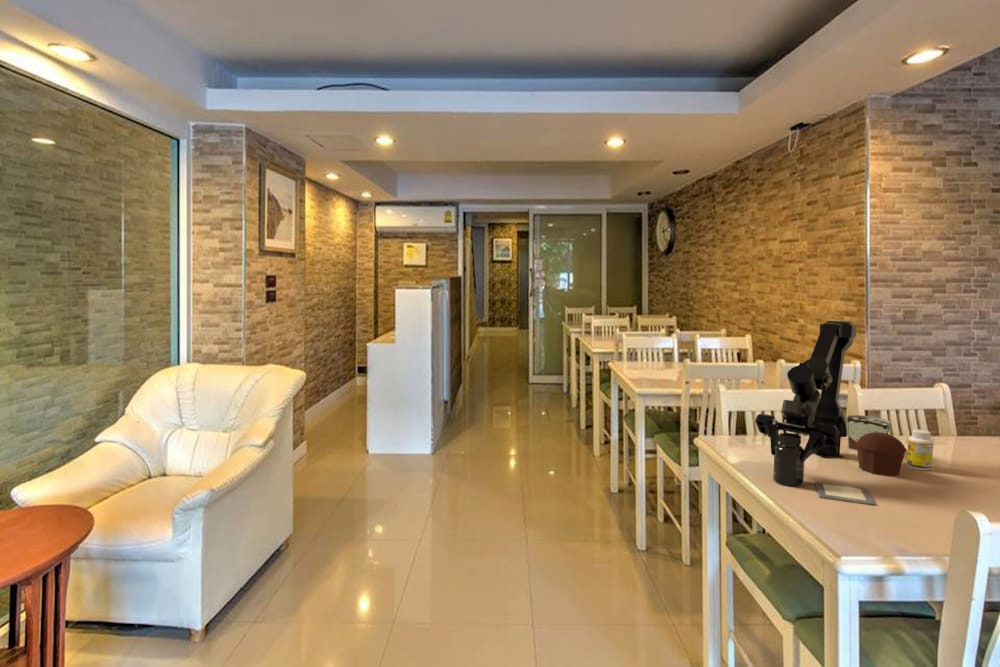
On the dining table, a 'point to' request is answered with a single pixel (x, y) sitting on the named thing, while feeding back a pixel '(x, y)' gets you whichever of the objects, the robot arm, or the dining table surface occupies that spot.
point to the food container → (864, 427)
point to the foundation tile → (844, 493)
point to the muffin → (880, 454)
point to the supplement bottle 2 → (920, 450)
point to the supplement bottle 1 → (788, 460)
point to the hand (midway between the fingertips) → (787, 457)
